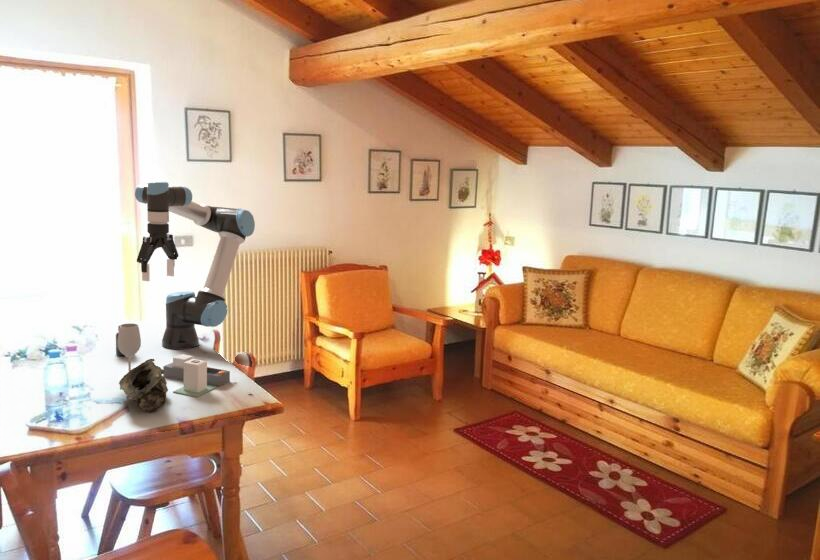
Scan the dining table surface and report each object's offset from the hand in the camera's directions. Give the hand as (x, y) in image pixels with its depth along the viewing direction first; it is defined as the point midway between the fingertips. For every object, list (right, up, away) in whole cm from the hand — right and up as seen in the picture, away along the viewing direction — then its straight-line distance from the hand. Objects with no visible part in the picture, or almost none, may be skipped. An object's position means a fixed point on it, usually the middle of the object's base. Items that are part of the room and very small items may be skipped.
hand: (158, 278), depth 245 cm
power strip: (+13, -37, -5) cm, 40 cm away
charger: (+20, -39, -18) cm, 48 cm away
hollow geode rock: (+9, -42, -33) cm, 54 cm away
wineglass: (-5, -38, -14) cm, 40 cm away
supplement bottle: (-20, -31, +17) cm, 41 cm away
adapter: (+11, -34, -5) cm, 36 cm away
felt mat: (+20, -40, -18) cm, 48 cm away
